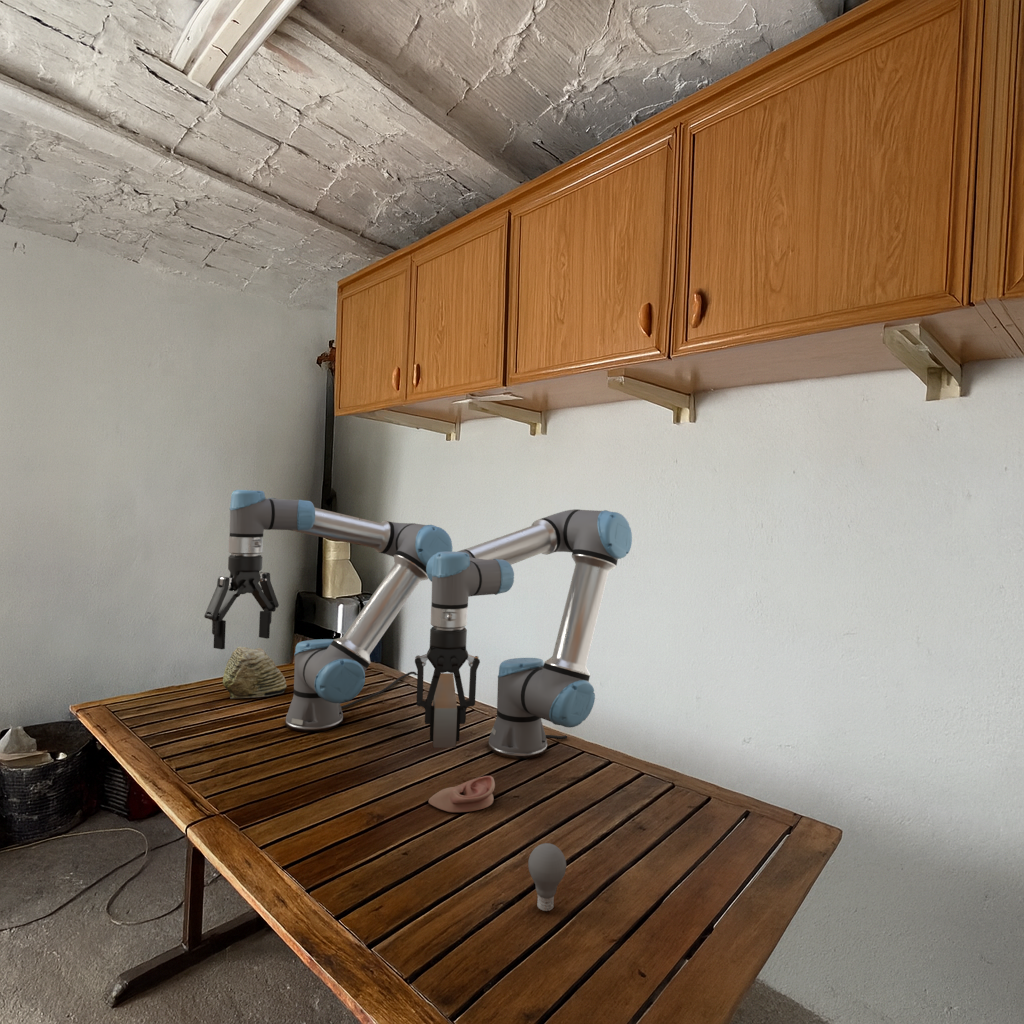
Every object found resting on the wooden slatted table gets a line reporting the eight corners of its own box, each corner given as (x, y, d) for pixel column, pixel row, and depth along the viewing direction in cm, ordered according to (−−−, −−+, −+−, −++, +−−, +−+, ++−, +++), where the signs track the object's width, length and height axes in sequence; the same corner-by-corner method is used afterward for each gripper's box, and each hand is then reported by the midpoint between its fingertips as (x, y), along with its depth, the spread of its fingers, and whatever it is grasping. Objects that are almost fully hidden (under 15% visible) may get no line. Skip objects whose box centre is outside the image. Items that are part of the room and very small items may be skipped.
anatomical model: (423, 789, 130) (441, 766, 141) (423, 808, 130) (440, 784, 141) (486, 798, 127) (499, 774, 139) (485, 817, 128) (498, 792, 139)
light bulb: (524, 896, 103) (527, 835, 103) (560, 896, 103) (563, 835, 103) (528, 921, 97) (531, 856, 97) (567, 920, 97) (570, 856, 97)
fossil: (218, 695, 195) (220, 647, 195) (278, 685, 208) (279, 640, 207) (228, 703, 189) (230, 653, 188) (289, 692, 201) (290, 645, 201)
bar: (432, 706, 153) (434, 673, 153) (451, 706, 153) (453, 673, 153) (433, 747, 128) (434, 708, 128) (455, 747, 128) (457, 708, 128)
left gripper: (213, 559, 138) (210, 655, 139) (295, 552, 161) (292, 635, 162) (189, 556, 141) (185, 651, 142) (272, 550, 164) (269, 631, 165)
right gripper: (404, 630, 126) (400, 746, 126) (492, 631, 128) (488, 745, 128) (406, 622, 133) (402, 732, 134) (489, 623, 135) (485, 732, 136)
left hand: (242, 643), depth 152 cm, fingers open, 13 cm apart
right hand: (444, 738), depth 131 cm, fingers closed on bar, 5 cm apart
